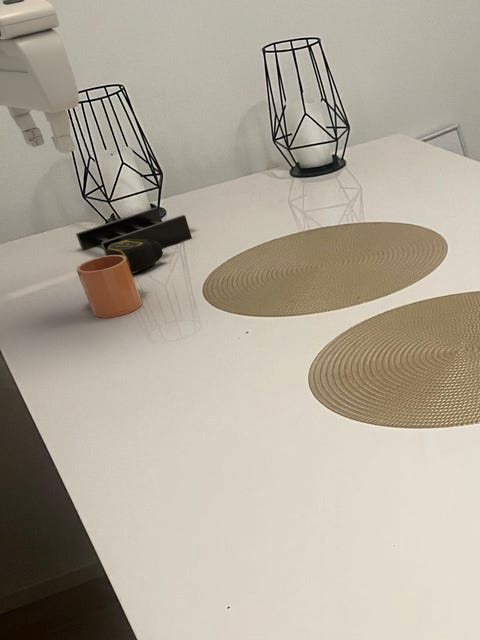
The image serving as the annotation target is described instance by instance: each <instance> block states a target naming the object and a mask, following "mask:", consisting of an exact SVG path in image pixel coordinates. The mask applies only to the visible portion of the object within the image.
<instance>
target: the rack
mask: <svg viewBox="0 0 480 640" xmlns="http://www.w3.org/2000/svg"><path fill="white" fill-rule="evenodd" d="M160 213H161V212H160V210H159V208H158V207H153V208H149V209H146V210H143V211H140V212H138V213H135V214H134V213H133V214H131V215H129V216H125V217H122V218H120V219H116V220H113V221H110V222H107V223H104V224H100V225H98V226H95V227H92V228H89V229H86V230H82V231H79V232H77V233H75V235H76V238H77V241H78V243H79V246H80V249H81V251H83V252H85V251H88V250H90V249H94V248H99V249H102V250H103V253H104V256H107V252H106V250H107V248H108V247H109V246H110V245H111V244H114V243H117V242H121V241H122V240H124V239H146V240H153V241H157V242H159V243H160V245H161V247H162V249H165V248H168V247H171V246H174V245H177V244H180V243H182V242H185V241H188V240H190V239H193V236H192V233H191V230H190V227H189V223H188V220H187V217H186V215H185V214H182V215H179V216H175V217H173V218H170V219H167V220H164V221H163V220H162V217H161V214H160Z"/></svg>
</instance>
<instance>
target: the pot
mask: <svg viewBox="0 0 480 640" xmlns="http://www.w3.org/2000/svg"><path fill="white" fill-rule="evenodd" d="M76 272H77V275H78V277H79V280H80V282H81V283H80V284H81V285H82V288H83V291H84V294H85V296H86V299H87V301H88V304H89V306H90V309H91V312H92V313H93V315H94V316H95V317H96V318H100V319H108V318H116V317H120V316H124V315H127V314H130V313H132V312H134V311H136V310H138V309H140V308H141V306H142V303H143V302H142V299H141V295H140V293H139V289H138V286H137V284H136V281H135V278H134V276H133V275H134V274H133V273H132V272H131V269H130V266H129V263H128V261H127V258H126V257H125V256H122V255H109V256H106V255H103V256H99V257H98V256H97V257H95V258H92V259H89V260H87V261H85V262H82V263H81V264H79V265H78V266H76Z"/></svg>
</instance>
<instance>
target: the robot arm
mask: <svg viewBox="0 0 480 640" xmlns="http://www.w3.org/2000/svg"><path fill="white" fill-rule="evenodd" d="M58 27H60V21H59V17H58V14H57V11H56V9H55V7H54V6H53V4H52V3H51V2H49V1H48V0H0V106H2V107H3V106H4V107H7V109H8V112H9V115H10V117H11V118H12V119H13V121H14V123H15V124H16V126H17V127H18V129H19V130H20V131H21V134H22V136H23V139H24V142H25V144H26V145H27V146H29V147H34V148H36V147H40V146H43V145H44V144H45V139H44V137H43V133H42V131H41V129H40V128H39V127H38V126H37V124H36V122H35V120H34V118H33V116H32V114H31V112H32V111H36V112H43V114H44V116H45V119H46V121H47V122H49V125H50V129H51V133H52V136H51V140H52V142H53V145H54V148H55V150H56V151H57V152H58V153H60V154H67V153H72V152H74V151H75V150H76V146H75V143H74V140H73V137H72V134H71V125H70V117H69V113H68V110H71V109H74V108H77V107H78V106H79V101H80V100H79V90H78V86H77V83H76V79H75V76H74V72H73V69H72V67H71V63H70V60H69V56H68V53H67V51H66V48H65V45H64V43H63V40H62V38H61V37H60V35H59V33H58V32H57V31H56V30H55V29H56V28H58Z"/></svg>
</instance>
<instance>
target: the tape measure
mask: <svg viewBox="0 0 480 640" xmlns="http://www.w3.org/2000/svg"><path fill="white" fill-rule="evenodd" d="M106 252H107V256H109V255H122V256H125V257H126V258H127V261H128V263H129V266H130V269H131V272H132V274H137V273H138V272H140V271H141V270H145V269H148V268H149V267H151V266H152V265H154V264H155V263H157V262H158V261H159V260H160V259H161V258H162V257H163V254H164V252H163V248H162V247H161V245H160V243H159V242H157V241H153V240H146V239H124V240H122V241H121V242H117V243H114V244H111V245H110V246H109V247H108V248H107V250H106Z"/></svg>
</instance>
